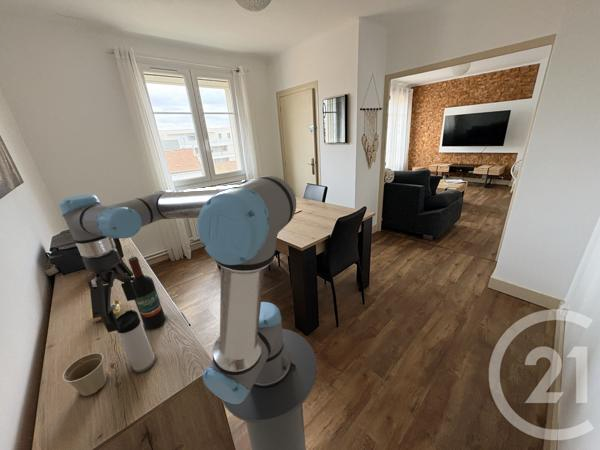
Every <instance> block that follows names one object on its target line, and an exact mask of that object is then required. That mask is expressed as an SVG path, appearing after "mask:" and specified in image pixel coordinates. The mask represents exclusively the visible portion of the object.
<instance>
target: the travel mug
mask: <svg viewBox="0 0 600 450" xmlns="http://www.w3.org/2000/svg"><path fill="white" fill-rule="evenodd" d="M139 315H140V314H139V313H138V312H137V311H135V310H134V309H129V310H126V311H125V312H123V313H122V314H120V315H119V316H118V317H116V319H117V321H118V324H119V326H120V329H119V330H117V331H116V332H117V335H118V337H119V339H120V342H121V344H122V346H123V349H124V351H125V354H126V356H127V358H128V360H129V362H130V365H131V367H132V369H133V371H134V372H136V373H142V372H145V371H146V370H149V369H150V368H151V367H152V366H153V365H154V363H155V361H156V357H155V354H154V352H153V349H152V347H151V344H150V342H149V339H148V337H147V334H146V331H145V327H144V324H143V322H142V321H141V320H142V319H141V317H140V316H139Z"/></svg>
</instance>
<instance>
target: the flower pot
mask: <svg viewBox="0 0 600 450" xmlns="http://www.w3.org/2000/svg"><path fill="white" fill-rule="evenodd" d="M104 357H105V356H104V354H102V353H101V352H92V353H88V354H86V355H83V356H81V357H79V358H77V359H75V361H73V362H72V363H71V364H69V365H68V367H66V368H65V370H64V371H63V373H62V378H61V379H62V381H64V382H65V383H68V384H70V385H71V386H72V387H74V388H75V389H76V390H77V391H78V393H79V394H80V395H81V396H84V397H86V396H87V397H88V396H91V395H93V394H95V393H97V392H98V391H99V390H100V389H101V388H103V387H104V386H105V384H106V382H107V375H106V372H105V368H104Z"/></svg>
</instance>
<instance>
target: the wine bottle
mask: <svg viewBox="0 0 600 450" xmlns="http://www.w3.org/2000/svg"><path fill="white" fill-rule="evenodd" d="M128 263H129V266H130V270H131V271H132V273H133V277H134V281H131V282H132V285H133V287H134V290H135V293H136V295H137V300H134V302H135V305H136V307H137V310H138V312H139V313H138V314H139V315H140V316H139V317H140V319H141V320H142V321H141V322H142V325H143V327H144V329H146V330H149V331H151V330H156V329H158V328H160V327H161V326H163V325H164V323H165V322H166V320H167V319H166V316H165V312H164V309H163V307H162V303H161V300H160V297H159V294H158V291H157V288H156V285H155V283H154V280H153V278H152V277H151V276H148V275H144V273H143V270H142V267H141V264H140V260H139V258H138V256H133V257H130V258H128Z"/></svg>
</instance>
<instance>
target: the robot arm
mask: <svg viewBox="0 0 600 450" xmlns="http://www.w3.org/2000/svg"><path fill="white" fill-rule="evenodd" d="M101 203H102V202H101V201H100V200H99V198H98V197H97V195H95V194H93V193H91V194H89V193H87V194H79V195H74V196H69V197H65V198H62V199H61V200H60V201H59V203H58V205H59V208H60V211H61V216H62V217H63V219H64V221H65V224H66V225H67V227H68V229H69V232H70V234H71V236H72V238H73V240H74V243H75V246H76V247H77V249H78V252H79V253H80V254H79V255H80V256H81V257H82V258H81V259H82V262H83V264H84V266H85V269H87V271H90V272H93V273H94V278H93V279H89V280H87V285H88V287H89V291H90V292H89V294H90V304H91V308H92V315H93V318H98V317H101V318H102V319H101V320H102V323H103V324H104V327H105V329H106V332H107V333H112V332H117V330H119V329H120V326H119V324H118V321H117V316H116V314H114V312H113V310H110V302H112V298H111V297H112V288H113V287H114V281H115V280H117V281H119V282H121V284H120V285H121V288H122V291H123V295H124V296H125V299H126V301H127V302H131V301H135V300H137V295H136V293H135V290H134V287H133V285H132V281H134V274H133V271H132V269H131V268H129V267H128V265H127V264H126V263H125V262H124V261H123V258H122V256H121V255H120V253H119V252H118V249H117V247H116V243H115V240H114V239H119V240H120V239H125V240H126V239H130V238H132V237H134V236H135V235H136V234H137V233H138V232H140V230H141V229H142V228H143V227H145V226H147V225H150V224H152V223H156V222H158V221H161V220H172V219H173V220H175V219H197V235H198V238H199V241H200V243H201V244H204V245H205V247H204V250H205V251H206V253H207V254H208V255H209V257H211V258H212V259H213V261H214V262H215V264H217V265H218V266H219V267H220V301H219V302H220V303H219V304H220V305H219V306H220V307H219V336H218V337H217V339H216V340H215V341H214V344H213V348H212V360H211V363H209V365H208V366H207V367H206V368H205V370H204V372H203V373H202V382H203V384H204V385H205V387H206V388H207V389H208V390H209V391H210V392H211V393H212V394H213V395H214V396H216V397H217V398H219V399H220V400H221V399H222V400H224V401H226V402H229V403H232V404H240V403H242V402H243V401H244V400H245V398H246V397H247V395H248V394H249V393H250V390H251V388H252V386H255V387H258V388H270V387H273V386H276V385H278V384H279V383H281V382H282V381H283V380H284V379H285V378H286V377H287V375H288V373H289V371H290V368H291V366H292V367H294V368H295V366H296V365H295V364H293V363H291V358H290V353H289V351H288V350H287V348H286V346H285V345H284V343H283V333H282V329H283V325H282V324H283V323H282V316H281V311H280V309H279V307H278V306H277V305H276V304H274V303H272V302H267V301H262V298H263V292H264V291H263V289H264V281H265V271H266V268H267V267H269V266H270V265H271V264H272V262H274V259H275V255H276V248H277V238H278V235H279V233H280V232H281V231H282V230H284V228H285V227H286V226H287V225H288V224H289V223H290V222H292V220H293V218H294V216H295V213H296V210H297V197H296V193H295V192H294V190H293V188H292V187H291V185H290V184H289V183H288V182H287V181H286V180H284V179H282V178H281V177H278V176H275V175H261V176H258V177H256V178H252V179H244V180H242V181H241V182H239V184H236V185H235V184H234V185H226V186H216V187H205V188H195V189H186V190H184V189H183V190H175V191H172V190H169V189H167V190H166V189H165V190H161V191H160V190H159V191H155V192H154V193H150V194H147V195H144V196H140V197H137V198H132V199H129V200H126V201H122V202H119V203H115V204H111V205H104V204H103V205H102V204H101ZM222 400H221V401H222Z"/></svg>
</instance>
